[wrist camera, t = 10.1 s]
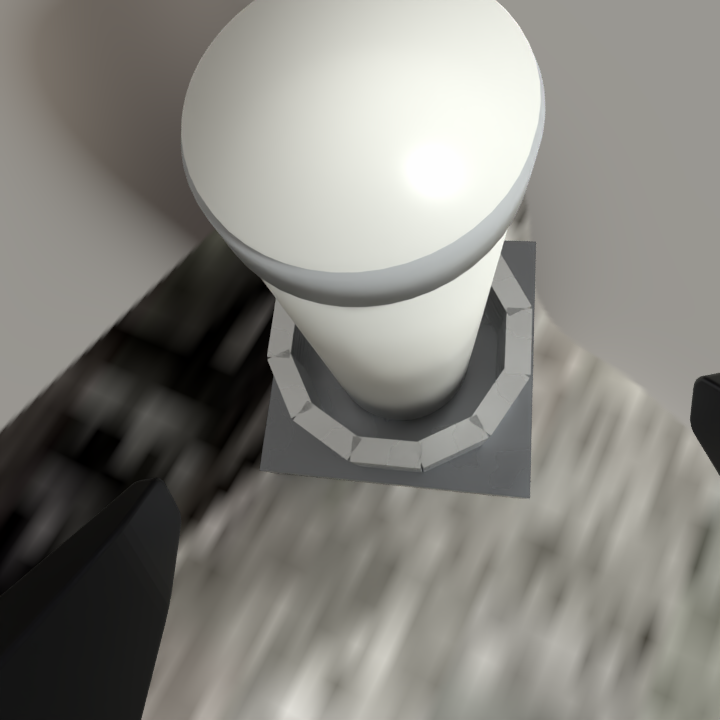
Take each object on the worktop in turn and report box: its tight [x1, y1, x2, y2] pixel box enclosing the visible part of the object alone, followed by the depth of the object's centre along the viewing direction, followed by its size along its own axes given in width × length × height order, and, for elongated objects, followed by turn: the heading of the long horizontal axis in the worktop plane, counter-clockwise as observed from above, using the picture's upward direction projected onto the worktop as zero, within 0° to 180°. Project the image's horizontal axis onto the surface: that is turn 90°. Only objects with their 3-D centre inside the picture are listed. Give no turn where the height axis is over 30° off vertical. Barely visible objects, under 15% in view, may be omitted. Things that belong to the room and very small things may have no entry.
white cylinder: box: [181, 0, 545, 420], centre depth 13 cm, size 5×5×13 cm
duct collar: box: [260, 241, 536, 499], centre depth 19 cm, size 10×10×4 cm
